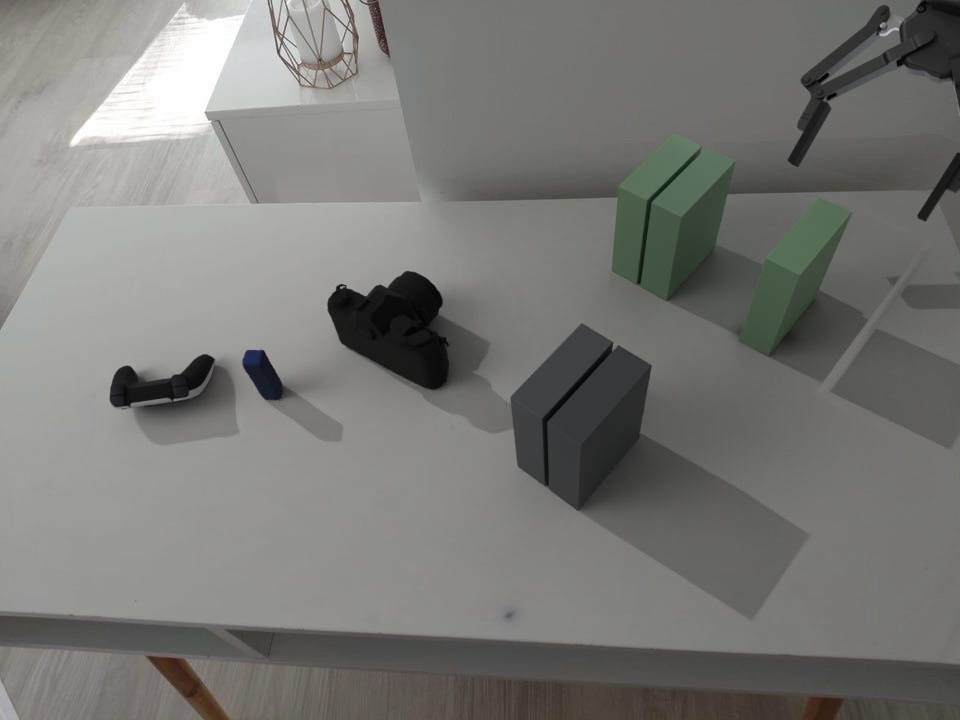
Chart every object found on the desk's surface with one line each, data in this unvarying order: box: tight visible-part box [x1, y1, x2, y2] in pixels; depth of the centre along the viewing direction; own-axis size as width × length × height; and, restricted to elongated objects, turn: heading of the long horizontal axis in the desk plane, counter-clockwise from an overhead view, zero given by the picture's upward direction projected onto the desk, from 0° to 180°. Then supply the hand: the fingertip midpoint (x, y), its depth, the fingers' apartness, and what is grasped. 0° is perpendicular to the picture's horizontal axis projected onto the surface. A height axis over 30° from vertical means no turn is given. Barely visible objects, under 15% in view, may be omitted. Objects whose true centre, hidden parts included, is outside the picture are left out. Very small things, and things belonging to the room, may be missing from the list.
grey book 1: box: [509, 322, 614, 487], centre depth 71 cm, size 4×10×13 cm, turn 138°
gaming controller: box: [109, 353, 216, 410], centre depth 82 cm, size 11×4×7 cm
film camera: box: [326, 270, 450, 390], centre depth 81 cm, size 15×10×9 cm, turn 56°
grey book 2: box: [547, 345, 653, 511], centre depth 69 cm, size 4×10×13 cm, turn 138°
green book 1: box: [611, 133, 703, 285], centre depth 84 cm, size 4×10×13 cm, turn 139°
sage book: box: [738, 196, 853, 357], centre depth 77 cm, size 4×10×13 cm, turn 138°
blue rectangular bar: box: [241, 349, 284, 401], centre depth 80 cm, size 2×2×7 cm
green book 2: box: [640, 148, 736, 301], centre depth 82 cm, size 4×10×13 cm, turn 139°
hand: (854, 190), depth 77 cm, fingers open, 13 cm apart
